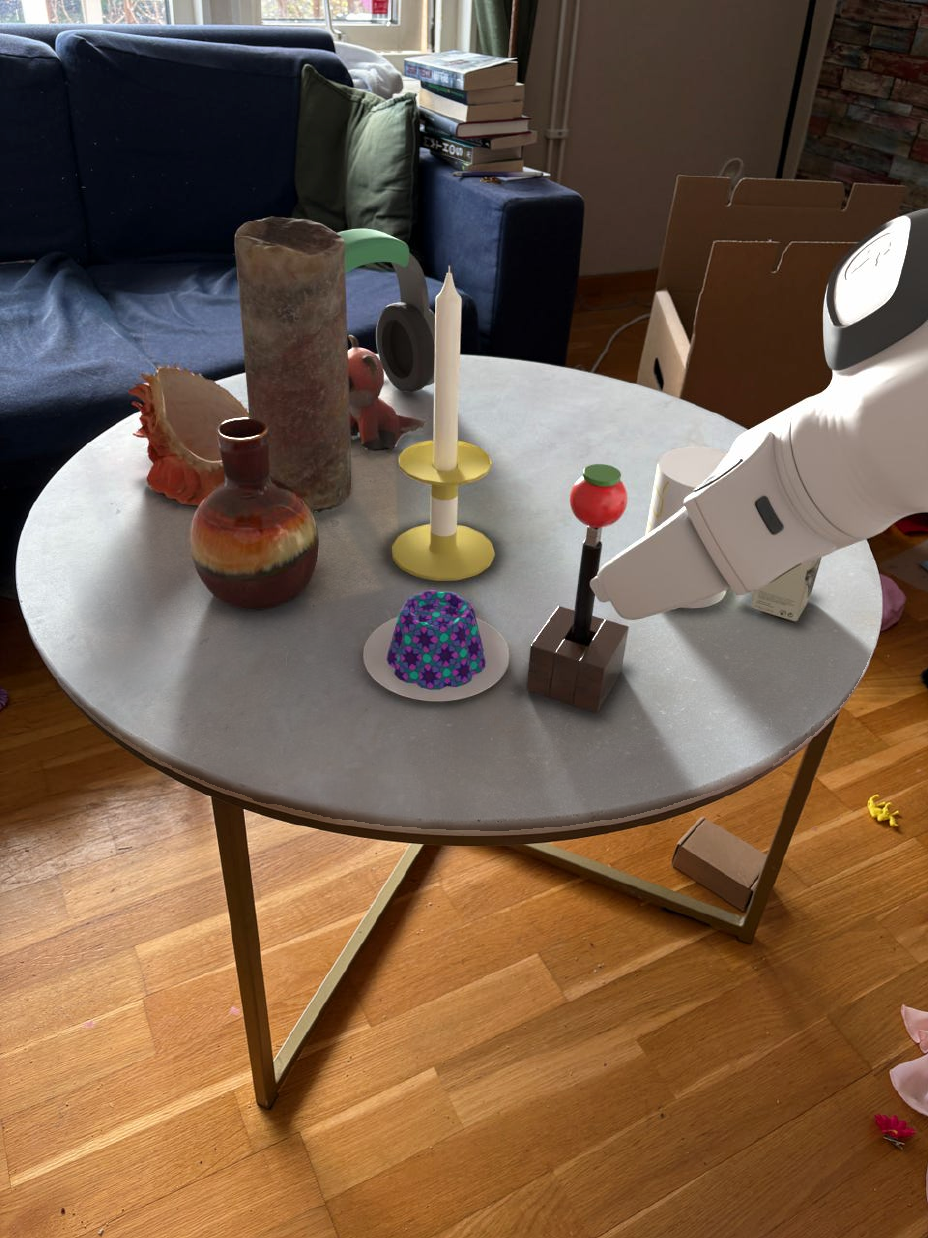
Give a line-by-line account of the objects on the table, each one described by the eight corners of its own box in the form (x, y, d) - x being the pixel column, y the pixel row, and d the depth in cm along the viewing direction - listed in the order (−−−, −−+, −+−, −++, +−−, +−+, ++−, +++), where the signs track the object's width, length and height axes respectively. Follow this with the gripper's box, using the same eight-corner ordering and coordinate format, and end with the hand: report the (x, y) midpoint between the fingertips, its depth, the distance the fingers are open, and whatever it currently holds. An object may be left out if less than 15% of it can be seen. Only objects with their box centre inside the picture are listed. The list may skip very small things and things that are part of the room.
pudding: (488, 722, 72) (492, 669, 68) (341, 690, 74) (338, 637, 71) (523, 631, 81) (527, 581, 78) (391, 606, 83) (390, 556, 80)
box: (796, 624, 83) (835, 496, 75) (747, 609, 85) (780, 481, 77) (811, 596, 87) (849, 470, 79) (764, 581, 88) (797, 457, 81)
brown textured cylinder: (339, 472, 103) (326, 212, 87) (368, 515, 96) (359, 239, 80) (246, 487, 100) (214, 219, 84) (269, 533, 93) (239, 249, 77)
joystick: (606, 673, 77) (638, 467, 66) (589, 702, 74) (620, 491, 63) (560, 658, 78) (584, 454, 67) (542, 686, 75) (564, 477, 64)
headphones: (405, 369, 128) (405, 213, 116) (452, 397, 121) (456, 234, 109) (279, 399, 118) (264, 232, 106) (322, 431, 111) (311, 257, 99)
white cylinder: (661, 550, 92) (682, 437, 85) (739, 578, 89) (768, 464, 81) (622, 586, 87) (641, 470, 80) (704, 619, 83) (731, 500, 76)
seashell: (140, 525, 96) (287, 508, 98) (114, 431, 89) (274, 416, 91) (147, 440, 109) (277, 427, 111) (125, 352, 102) (265, 340, 104)
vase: (289, 632, 80) (273, 469, 71) (173, 607, 82) (143, 445, 73) (341, 565, 88) (332, 411, 79) (234, 544, 91) (214, 392, 82)
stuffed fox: (440, 443, 110) (442, 343, 103) (355, 466, 104) (351, 361, 97) (407, 419, 115) (406, 322, 108) (324, 440, 109) (318, 339, 102)
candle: (475, 520, 96) (488, 245, 80) (509, 572, 88) (530, 280, 72) (380, 533, 93) (373, 251, 77) (406, 588, 86) (404, 288, 70)
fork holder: (621, 670, 77) (629, 626, 74) (597, 713, 73) (604, 668, 70) (553, 648, 79) (558, 605, 76) (526, 689, 75) (530, 645, 72)
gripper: (843, 390, 63) (689, 473, 73) (686, 501, 50) (528, 581, 61) (889, 473, 63) (729, 543, 74) (744, 603, 50) (577, 664, 61)
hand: (637, 561), depth 67 cm, fingers open, 8 cm apart
